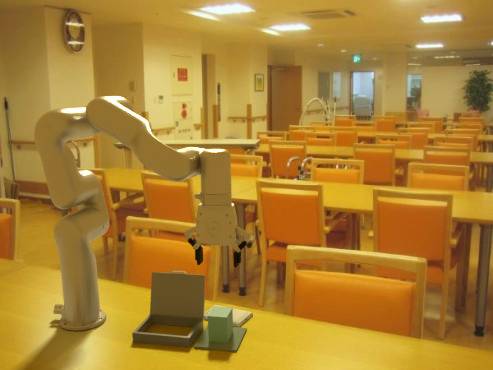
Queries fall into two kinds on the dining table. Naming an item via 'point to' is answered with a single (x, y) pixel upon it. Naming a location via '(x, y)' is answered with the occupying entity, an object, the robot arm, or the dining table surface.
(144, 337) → the case
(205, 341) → the mat
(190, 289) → the lid
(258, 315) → the dining table surface
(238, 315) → the hard drive
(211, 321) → the block
